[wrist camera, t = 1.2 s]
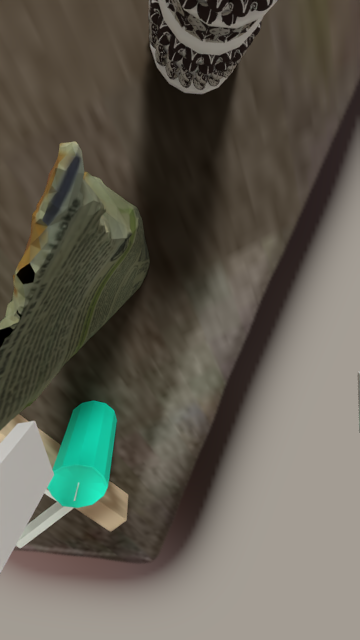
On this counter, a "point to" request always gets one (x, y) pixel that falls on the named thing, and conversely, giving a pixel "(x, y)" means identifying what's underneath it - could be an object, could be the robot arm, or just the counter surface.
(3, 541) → the robot arm
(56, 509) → the frame
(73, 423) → the candle
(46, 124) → the counter surface
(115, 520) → the edge strip
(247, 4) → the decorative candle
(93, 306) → the pouch
